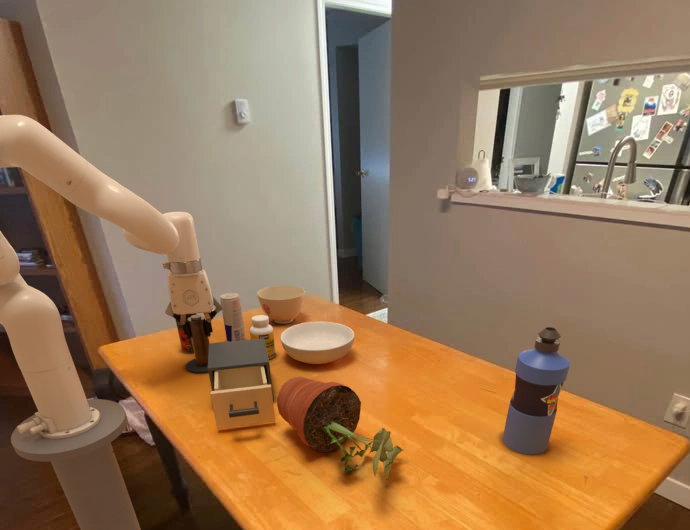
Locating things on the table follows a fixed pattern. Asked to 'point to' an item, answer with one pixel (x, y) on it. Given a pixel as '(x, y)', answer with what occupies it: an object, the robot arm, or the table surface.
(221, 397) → the drawer
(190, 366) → the mat
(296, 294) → the bowl
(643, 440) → the table surface
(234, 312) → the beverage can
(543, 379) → the water bottle
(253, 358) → the cabinet
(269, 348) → the pill bottle
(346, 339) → the serving bowl
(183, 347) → the deodorant
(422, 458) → the table surface
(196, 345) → the pepper mill
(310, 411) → the potted plant
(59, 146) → the robot arm
